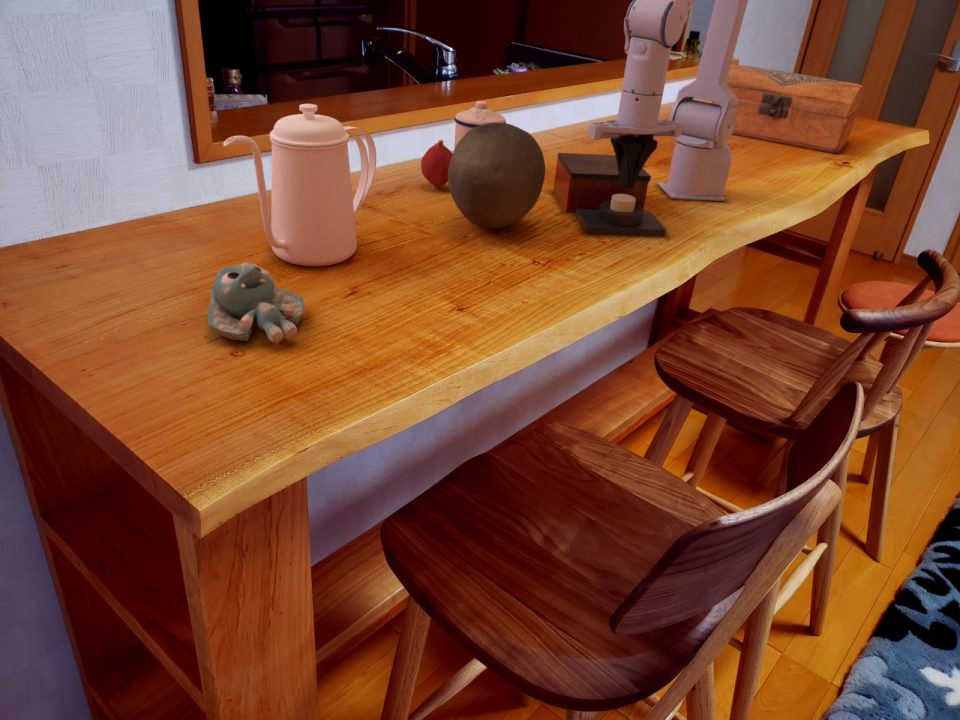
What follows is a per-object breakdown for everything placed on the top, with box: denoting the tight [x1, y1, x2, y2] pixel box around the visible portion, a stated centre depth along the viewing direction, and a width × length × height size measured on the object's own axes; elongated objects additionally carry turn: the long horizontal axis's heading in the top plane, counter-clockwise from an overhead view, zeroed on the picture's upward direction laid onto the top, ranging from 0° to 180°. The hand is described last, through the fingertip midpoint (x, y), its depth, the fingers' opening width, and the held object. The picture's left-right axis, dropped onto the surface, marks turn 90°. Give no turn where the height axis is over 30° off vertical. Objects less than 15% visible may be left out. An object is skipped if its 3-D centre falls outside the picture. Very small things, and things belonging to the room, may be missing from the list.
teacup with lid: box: [453, 100, 507, 150], centre depth 134 cm, size 12×9×12 cm
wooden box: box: [711, 63, 865, 154], centre depth 172 cm, size 30×16×14 cm, turn 58°
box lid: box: [557, 152, 652, 182], centre depth 120 cm, size 11×13×1 cm
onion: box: [420, 139, 453, 189], centre depth 123 cm, size 6×6×8 cm
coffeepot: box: [223, 103, 377, 267], centre depth 93 cm, size 11×25×19 cm, turn 148°
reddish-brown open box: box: [552, 157, 650, 214], centre depth 122 cm, size 11×13×6 cm
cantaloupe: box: [447, 122, 546, 230], centre depth 107 cm, size 14×14×15 cm
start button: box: [610, 194, 636, 213], centre depth 113 cm, size 4×4×2 cm
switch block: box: [574, 201, 667, 238], centre depth 114 cm, size 12×8×3 cm, turn 96°
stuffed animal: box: [206, 261, 306, 344], centre depth 79 cm, size 11×7×12 cm
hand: (626, 186), depth 112 cm, fingers closed
